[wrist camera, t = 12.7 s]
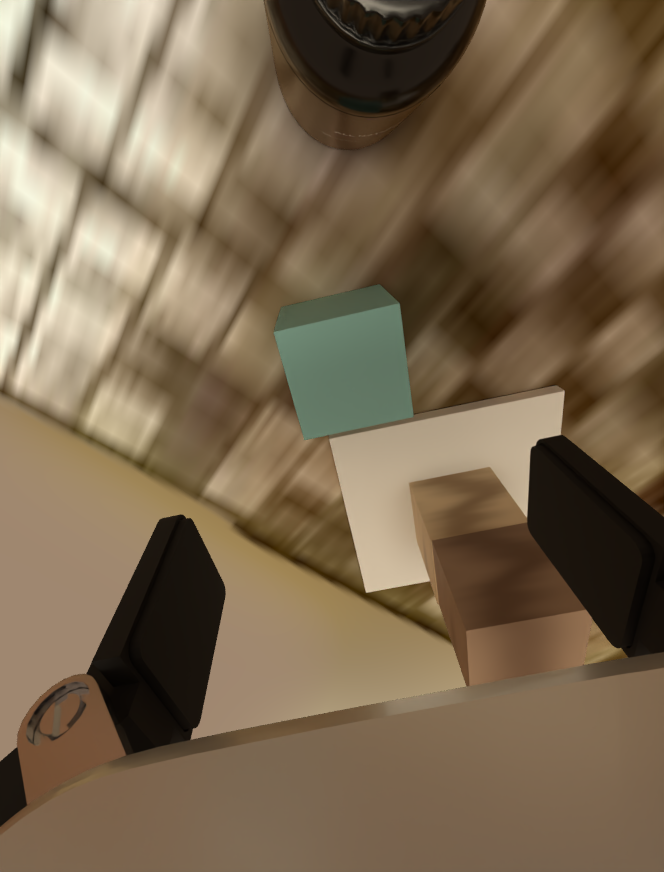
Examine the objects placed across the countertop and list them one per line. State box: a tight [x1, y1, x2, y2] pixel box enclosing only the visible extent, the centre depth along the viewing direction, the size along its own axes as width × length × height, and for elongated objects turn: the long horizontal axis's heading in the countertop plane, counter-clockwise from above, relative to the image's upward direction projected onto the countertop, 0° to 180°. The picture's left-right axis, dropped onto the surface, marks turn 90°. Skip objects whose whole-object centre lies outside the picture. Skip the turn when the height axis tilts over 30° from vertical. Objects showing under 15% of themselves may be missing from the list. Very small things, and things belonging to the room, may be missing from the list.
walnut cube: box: [432, 522, 592, 686], centre depth 23 cm, size 6×6×6 cm
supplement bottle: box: [264, 0, 486, 150], centre depth 13 cm, size 7×7×12 cm
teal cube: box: [274, 284, 414, 440], centre depth 22 cm, size 6×6×6 cm
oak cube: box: [409, 467, 527, 604], centre depth 28 cm, size 6×6×6 cm
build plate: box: [329, 385, 565, 593], centre depth 31 cm, size 16×16×1 cm
